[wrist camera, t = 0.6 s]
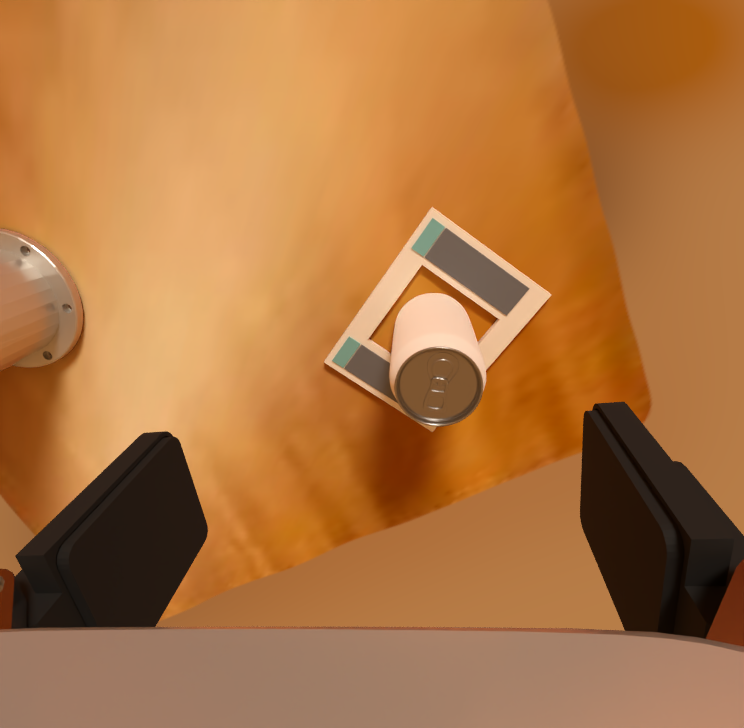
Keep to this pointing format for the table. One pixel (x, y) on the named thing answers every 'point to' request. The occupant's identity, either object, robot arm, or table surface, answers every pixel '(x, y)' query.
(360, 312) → the label board
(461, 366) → the can
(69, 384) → the table surface
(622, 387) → the table surface
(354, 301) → the table surface
